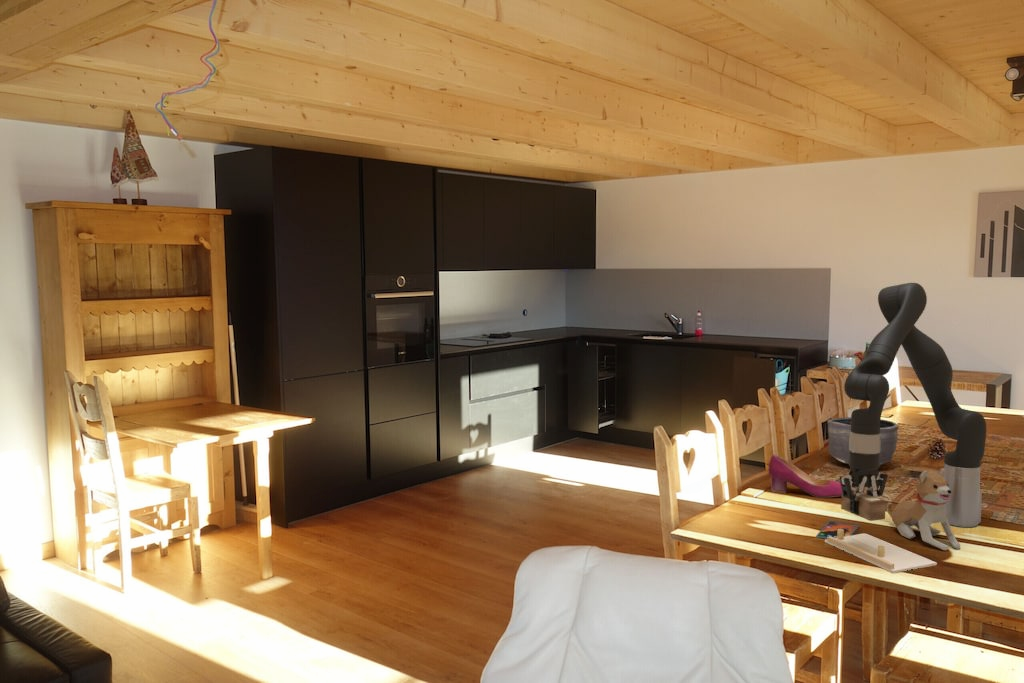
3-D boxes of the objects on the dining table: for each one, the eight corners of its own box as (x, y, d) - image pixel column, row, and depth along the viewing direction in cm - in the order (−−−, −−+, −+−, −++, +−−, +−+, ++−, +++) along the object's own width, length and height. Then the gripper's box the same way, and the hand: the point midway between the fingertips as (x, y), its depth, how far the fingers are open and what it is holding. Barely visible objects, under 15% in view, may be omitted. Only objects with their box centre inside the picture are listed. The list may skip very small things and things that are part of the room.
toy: (937, 552, 211) (940, 478, 209) (872, 524, 233) (874, 457, 231) (968, 548, 213) (971, 474, 211) (901, 521, 236) (903, 454, 234)
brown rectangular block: (841, 508, 217) (841, 490, 217) (854, 507, 218) (855, 489, 218) (870, 520, 207) (871, 501, 206) (884, 519, 208) (885, 500, 208)
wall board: (865, 535, 225) (865, 524, 224) (936, 565, 202) (937, 553, 202) (824, 542, 220) (824, 530, 220) (893, 573, 197) (893, 561, 197)
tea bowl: (908, 462, 300) (906, 416, 299) (889, 475, 284) (887, 427, 283) (840, 457, 317) (837, 413, 316) (818, 469, 300) (816, 423, 299)
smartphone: (815, 535, 224) (829, 520, 236) (815, 540, 224) (829, 524, 236) (846, 540, 219) (859, 523, 231) (846, 545, 219) (859, 528, 231)
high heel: (852, 494, 264) (853, 457, 263) (850, 501, 256) (851, 463, 255) (771, 486, 275) (771, 450, 274) (766, 492, 268) (767, 456, 267)
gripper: (876, 444, 217) (874, 506, 218) (832, 448, 212) (830, 511, 214) (897, 450, 209) (895, 514, 211) (852, 454, 205) (850, 520, 207)
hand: (862, 512), depth 212 cm, fingers closed on brown rectangular block, 4 cm apart
